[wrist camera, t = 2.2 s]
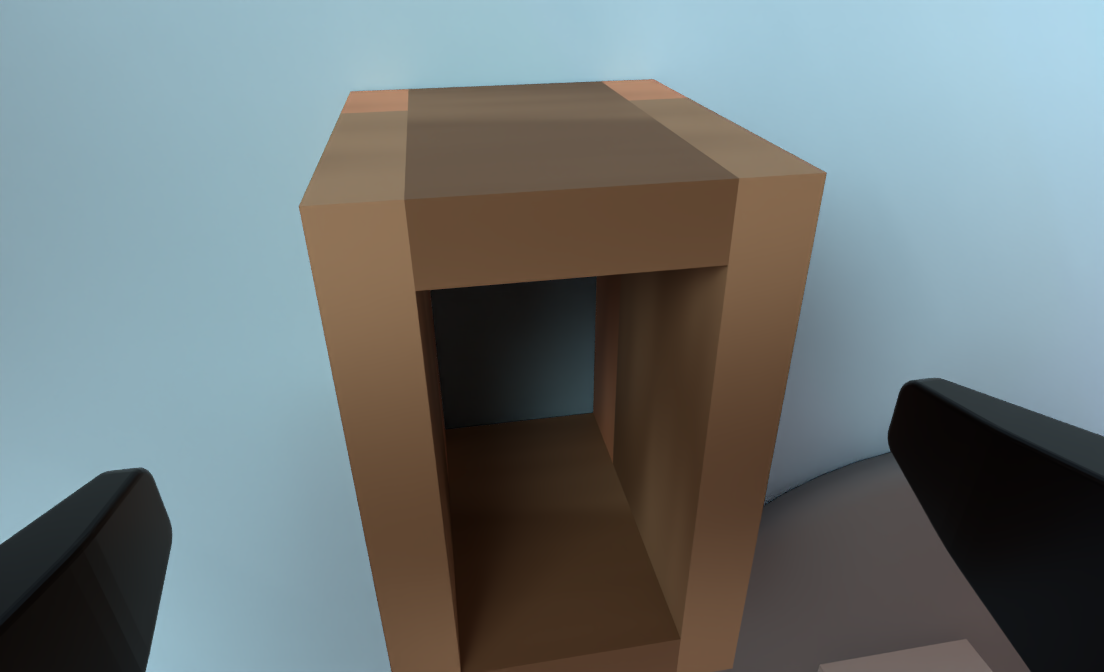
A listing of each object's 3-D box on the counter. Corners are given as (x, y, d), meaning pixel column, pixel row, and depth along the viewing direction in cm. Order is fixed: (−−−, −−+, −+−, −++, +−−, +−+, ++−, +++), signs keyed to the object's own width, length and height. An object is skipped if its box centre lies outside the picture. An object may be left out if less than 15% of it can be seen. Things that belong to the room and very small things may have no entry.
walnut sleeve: (632, 441, 14) (732, 668, 9) (406, 468, 13) (402, 725, 9) (653, 79, 10) (826, 172, 6) (350, 91, 10) (298, 206, 5)
